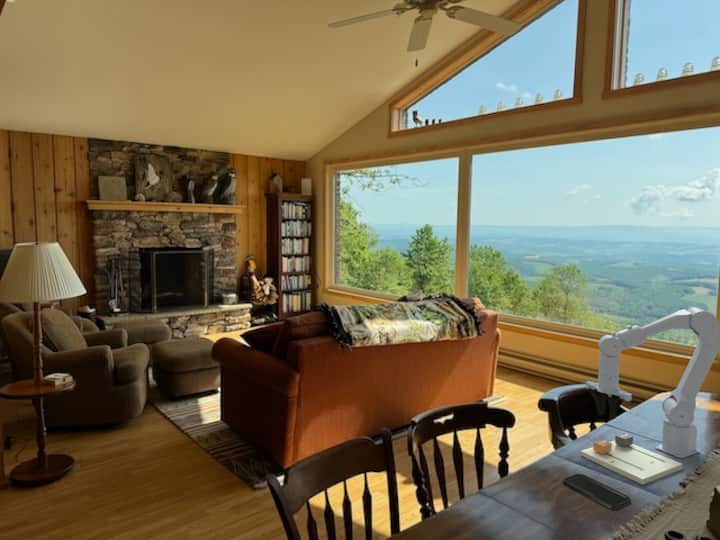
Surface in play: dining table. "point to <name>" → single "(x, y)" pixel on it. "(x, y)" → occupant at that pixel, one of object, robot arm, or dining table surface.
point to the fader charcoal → (624, 439)
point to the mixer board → (634, 462)
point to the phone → (597, 491)
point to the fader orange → (602, 446)
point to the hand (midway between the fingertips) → (606, 416)
